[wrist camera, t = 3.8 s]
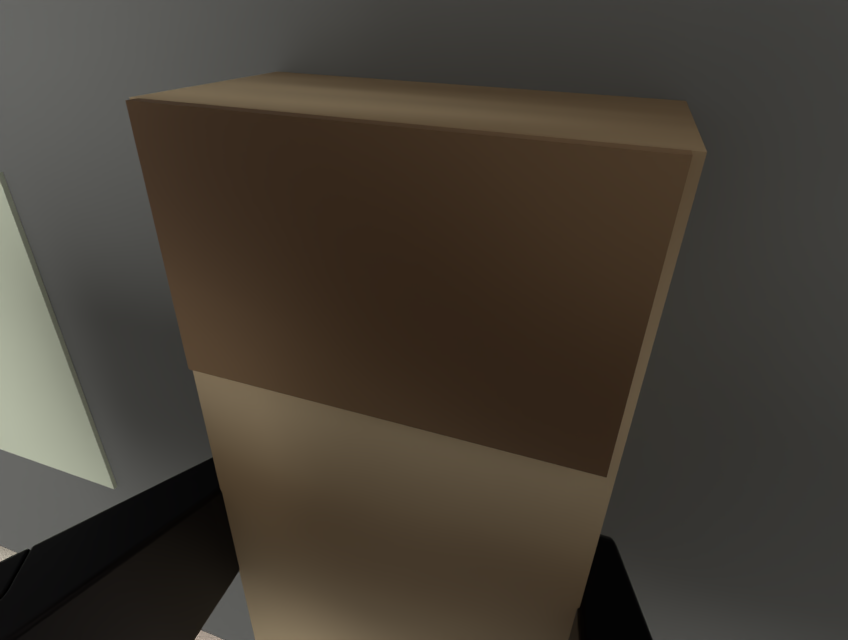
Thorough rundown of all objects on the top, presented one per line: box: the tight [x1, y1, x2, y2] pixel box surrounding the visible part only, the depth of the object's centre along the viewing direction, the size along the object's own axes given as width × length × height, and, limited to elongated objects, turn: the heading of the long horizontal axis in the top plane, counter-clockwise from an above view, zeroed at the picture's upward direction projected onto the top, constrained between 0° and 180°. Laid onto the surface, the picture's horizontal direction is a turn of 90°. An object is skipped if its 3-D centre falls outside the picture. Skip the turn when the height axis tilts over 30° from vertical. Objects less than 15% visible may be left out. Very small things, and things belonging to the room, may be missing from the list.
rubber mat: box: [0, 0, 848, 640], centre depth 12 cm, size 19×32×1 cm, turn 89°
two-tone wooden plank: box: [125, 72, 707, 640], centre depth 8 cm, size 12×5×3 cm, turn 179°
